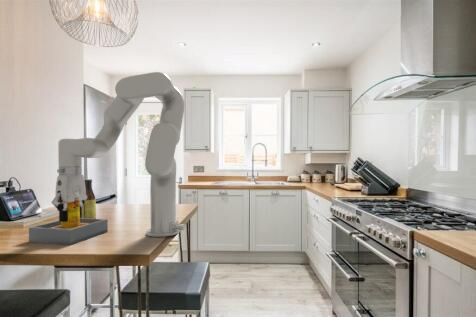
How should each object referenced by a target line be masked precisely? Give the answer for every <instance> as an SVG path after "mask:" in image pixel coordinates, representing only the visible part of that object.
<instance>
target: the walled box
mask: <svg viewBox="0 0 476 317" xmlns="http://www.w3.org/2000/svg"><path fill="white" fill-rule="evenodd" d="M108 222H109V221H108V219H107V218H96V219H91V218H80V226H79V227H76V228H72V229H64V228H61V222H60V221H59V219H58V220H54V221H50V222H46V223H43V224H37V225H34V226H29V227H28V242H29V243H38V244H39V243H41V244H42V243H43V244H54V245H66V246H67V245H68V246H72V245H74V244H78V243H80V242H83V241H87V240H89V239H91V238H92V239H93V238H95V237H97V236H100V235H103V234H105V233H108V232H109V231H108V230H109V228H108V226H109V225H108V224H109V223H108Z"/></svg>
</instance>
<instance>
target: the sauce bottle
mask: <svg viewBox="0 0 476 317" xmlns="http://www.w3.org/2000/svg"><path fill="white" fill-rule="evenodd" d="M84 180H85V187H86V195H87V199H86V200H85V202H84V204H83V207H81V208H82V218H91V219H97V205H96V203H97V202H96V195H95V192H94V190H93V184H92V183H93V179H91V178H89V179H86V178H85V179H84Z"/></svg>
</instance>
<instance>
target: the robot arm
mask: <svg viewBox="0 0 476 317" xmlns="http://www.w3.org/2000/svg"><path fill="white" fill-rule="evenodd" d="M114 91H115V94H116V96H115V97H114V98H113V100H112V101H111V103H110V104H109V105H108V106H107V107H106V108H105V109H104V112H103V124H102V126H101V129H100V131H99V132H98V134H96V136H95V137H94V138H93V137H82V138H61V139H59V141H58V145H57V147H58V149H57V150H58V154H57V155H58V168H57V170H56V172H57V173H58V175H57V177H56V181H55V182H56V183H55V193H54V194H55V197H54V198H53V199H52V201H51V204H52V205H53V206H54V207H55V209H57V211H58V213H59V214H58V217H59V218H58V220H59V221H60V222H67V221H68V211H66V208H67V204H68V203H71V202H74V194H75V193H78V194H79V201H80V218H82V208H81V207H83V204H84V202H85V200H86V199H87V195H86V187H85V180H86V179H85V177H84V174H83V169H82V168H83V167H82V163H83V162H82V161H83V160H82V159H83V158H86V159H100V158H103V157H104V156H106V155H107V154H108V152H110V150H111V149H112V147H114V145H115V144H116V142H117V141H118V139H119V137H120V135H121V133H122V131H123V129H124V127H125V125H126V123H127V122H128V120H130V118H131V117H132V115H133V114H134V113H135V112H136V110H137V109H138V108H139V106H140V105H141V104H142V103H143V101H144V99H145V98H151V97H155V98H156V100H158V101H160V102H161V104H162V106H161V107H162V108H161V112H160V116H159V121H158V122H157V123H156V124H155V125H154V126H153V128H151V129H152V130H151V132H150V136H149V138H148V140H149V141H148V145H147V150H146V155H145V161H144V162H145V163H144V165H145V166H144V167H145V169H146V172H147V173H148V174H149V175H150V188H149V189H150V191H149V192H150V195H149V196H150V197H149V198H150V228H149V229H147V230H146V235H147V236H148V237H153V238H154V237H155V238H162V237H163V238H166V237H171V236H176V235H178V234H180V233H181V231H185V229H186V227H185V226H186V225H185V224H184V223H179V220H177V218H176V217H177V214H176V213H177V210H176V209H177V203H176V202H177V200H176V199H177V198H176V197H177V193H176V192H177V191H176V190H177V189H176V186H177V184H176V180H177V162H176V159H175V152H176V148H177V145H178V144H179V143H180V139H181V131H182V130H181V129H182V127H183V118H184V112H185V99H184V96H183V95H182V93H181V91H180V90H179V89H178V88H177V87H176V86H175V85H174V84H173V83H172V80H171V78H170V77H169V76H168V75H167V74H166V73H164V72H159V71H155V72H154V71H153V72H148V73H141V74H136V75H130V76H125V77H123V78H121V79H119V80H118V81H117V83H116V85H115V88H114ZM62 201H63V202H62ZM62 204H64V205H63V206H62Z"/></svg>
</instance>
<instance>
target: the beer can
mask: <svg viewBox="0 0 476 317" xmlns="http://www.w3.org/2000/svg"><path fill="white" fill-rule="evenodd" d="M62 202H63V201H62ZM63 205H64V204H62V206H63ZM66 211H68V221H67V222H61V228H64V229H72V228H76V227H79V226H80V201H79V194H78V193H75V194H74V202H71V203H68V204H67V208H66Z"/></svg>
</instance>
